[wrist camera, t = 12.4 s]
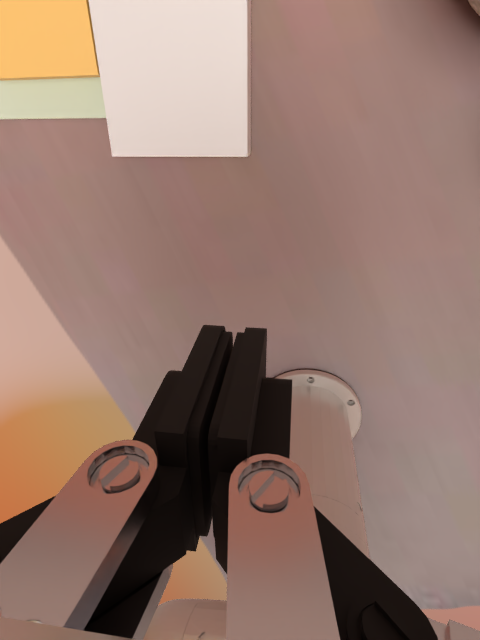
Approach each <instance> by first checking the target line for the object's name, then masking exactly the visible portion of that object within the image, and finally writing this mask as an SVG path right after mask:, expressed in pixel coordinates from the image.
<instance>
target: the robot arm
mask: <svg viewBox="0 0 480 640" xmlns="http://www.w3.org/2000/svg"><path fill="white" fill-rule="evenodd" d="M266 344H267V329H264V328H247V327H246V329H245V332H244V333H241V332H238V333H237V336H236V339H235V342H234V346H233V337H232V332H225V327H224V326H213V325H203V327H202V329H201V331H200V333H199V335H198V338H197V340H196V342H195V344H194V346H193V348H192V350H191V353H190V355H189V357H188V359H187V361H186V363H185V366H184V368H183V370H182V371H172V370H171V371H169V372H168V373H167V374H166V376H165V378H164V380H163V382H162V384H161V386H160V388H159V389H158V391H157V393H156V395H155V397H154V399H153V401H152V403H151V405H150V407H149V409H148V411H147V413H146V415H145V416H144V418H143V420H142V422H141V424H140V426H139V428H138V430H137V432H136V434H135V436H134V438H133V440H122V441H115V442H113V443H110V444H107V445H104V446H103V447H102V448H99V449H98V450H96V451H94V453H92V454H91V455H90V456H89V457H88V458H87V459H86V460H85V461H84V463H83V464H82V465H81V466H80V467H79V469H78V470H77V471H76V472H75V474H74V475H73V476H72V477H71V478H70V480H69V481H68V482H67V483H66V485H65V486H64V487H63V488H62V489H61V491H60V492H59V493H58V494H57V495H56V496H55V497H52V498H50V499H48V500H46V501H44V502H43V503H40V504H38V505H36V506H34V507H32V508H31V509H29V510H27V511H25V512H23V513H21V514H19V515H17V516H15V517H13V518H11V519H9V520H7V521H5V522H3V523H1V524H0V640H480V631H478V630H476V629H473V628H471V627H468V626H465V625H463V624H460V623H457V622H455V621H452V620H449V622H448V624H447V625H445V624H443V623H440V622H437V621H435V620H432V619H430V618H427V617H426V615H425V614H424V613H423V612H422V611H421V610H420V608H419V607H418V606H417V605H416V604H415V603H414V602H413V601H412V600H411V599H410V598H409V597H408V596H407V595H406V594H405V593H404V592H403V591H402V590H401V589H400V588H399V587H398V586H397V585H396V584H395V583H394V582H393V581H392V580H391V579H390V578H388V577H387V576H386V575H385V574H384V573H383V572H382V571H381V570H380V569H379V568H378V567H377V566H376V565H375V564H374V563H373V562H372V561H371V560H370V555H369V549H368V543H367V536H366V529H365V523H364V516H363V510H362V503H361V496H360V490H359V483H358V477H357V470H356V464H355V457H354V450H353V444H352V438H353V437H354V436H355V435H356V433H357V432H358V430H359V427H360V424H361V418H362V412H361V407H360V403H359V400H358V397H357V396H356V394H355V392H354V391H353V390H352V389H351V387H350V386H349V385H348V384H347V383H345V382H344V381H342V380H341V379H339V378H338V377H336V376H333V375H331V374H329V373H325V372H322V371H317V370H296V371H291V372H287V373H284V374H282V375H279V376H277V377H276V378H266ZM212 518H213V533H214V538H215V548H216V559H217V561H218V562H219V563H220V565H221V566H222V568H223V569H224V571H225V572H226V574H227V601H224V600H208V599H176V600H171V601H168V602H165V603H163V604H161V605H159V606H158V604H159V602H160V599H161V597H162V595H163V592H164V590H165V588H166V585H167V583H168V581H169V578H170V575H171V572H172V568H173V563H174V562H176V561H177V560H179V559H180V558H181V557H183V556H184V555H185V554H186V551H187V550H189V551H196V548H197V544H198V540H199V536H206V537H207V536H208V533H209V529H210V524H211V520H212ZM157 606H158V607H157Z"/></svg>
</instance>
